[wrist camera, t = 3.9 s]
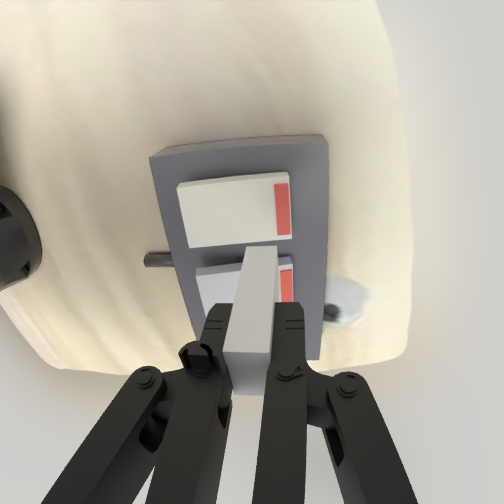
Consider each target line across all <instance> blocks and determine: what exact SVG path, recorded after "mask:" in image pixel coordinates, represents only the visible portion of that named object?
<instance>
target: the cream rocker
mask: <svg viewBox="0 0 504 504" xmlns="http://www.w3.org/2000/svg"><path fill="white" fill-rule="evenodd" d="M177 193H178V198H179V203H180V208H181V213H182V218H183V222H184V227H185V232H186V236H187V241H188V245H189V248H198V247H208V246H219V245H229V244H240V243H251V242H262V241H273V240H284V239H292V227H291V204H290V183H289V175H288V173H287V172H275V173H263V174H252V175H242V176H232V177H223V178H214V179H206V180H198V181H191V182H184V183H180V184H179V185H178V187H177Z"/></svg>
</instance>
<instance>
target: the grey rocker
mask: <svg viewBox="0 0 504 504" xmlns="http://www.w3.org/2000/svg"><path fill="white" fill-rule="evenodd" d="M242 264H243V262H242V263H234V264H226V265H218V266H210V267H202V268H196V280H197V284H198V288H199V292H200V296H201V300H202V304H203V308H204V312H205V315H206V318H207V315H208V311H209V310H210V309H211V308H212V307H213V306H214V304H215V303H234V299H235V294H236V290H237V286H238V281H239V277H240V273H241V268H242ZM278 270H279V288H280V291H279V302H293V263H292V261H291V258H290V256H287V257H280V258H278Z"/></svg>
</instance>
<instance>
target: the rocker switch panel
mask: <svg viewBox="0 0 504 504" xmlns="http://www.w3.org/2000/svg"><path fill="white" fill-rule="evenodd" d="M149 161H150V166H151V171H152V175H153V180H154V185H155V189H156V194H157V198H158V203H159V207H160V211H161V216H162V220H163V224H164V228H165V232H166V236H167V240H168V244H169V248H170V251H171V254H147V255H145V257H144V265H145V266H146V267H175V270H176V273H177V277H178V281H179V284H180V288H181V291H182V294H183V298H184V301H185V304H186V308H187V311H188V314H189V317H190V321H191V324H192V327H193V330H194V333H195V336H196V339H197V341H198V340H200V337H201V334H202V331H203V329H204V328H203V327H204V324H205V322H206V315H205V312H204V308H203V304H202V300H201V296H200V292H199V288H198V284H197V280H196V268H202V267H210V266H218V265H226V264H234V263H242V262H243V260H244V255H245V251H246V247H249V246H277V253H278V258H280V257H287V256H290V258H291V261H292V263H293V302H299V303H300V304H301V306H302V308H303V309H304V319H305V350H306V360H319V356H320V346H321V336H322V324H323V312H324V299H325V283H326V265H327V241H328V143H327V141H326V140H325V138H324V137H323V135H287V136H267V137H252V138H239V139H228V140H218V141H209V142H200V143H192V144H185V145H177V146H171V147H166V148H164V149H163V150H161V151H159V152H158V153H156V154H154V155H153V156H151V157H149ZM275 172H287V173H288V175H289V183H290V204H291V227H292V239H284V240H273V241H262V242H251V243H240V244H229V245H219V246H208V247H198V248H189V245H188V241H187V236H186V232H185V227H184V222H183V218H182V213H181V208H180V203H179V198H178V193H177V187H178V185H179V184H180V183H184V182H191V181H198V180H206V179H214V178H223V177H232V176H242V175H252V174H263V173H275Z"/></svg>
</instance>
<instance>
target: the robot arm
mask: <svg viewBox="0 0 504 504" xmlns="http://www.w3.org/2000/svg"><path fill="white" fill-rule="evenodd" d="M40 262H41V245H40V240H39V236H38V233H37V230H36V227H35V225H34V222H33V220H32V218H31V216H30V214H29V213H28V211H27V209H26V208H25V206H24V205H23V203H22V202H21V201H20V200H19V198H18V197H17V196H16V195H15V194H14V193H12V192H11V191H10V190H8V189H6V188H4V187H1V186H0V291H2V290H4V289H6V288H8V287H10V286H12V285H15V284H17V283H19V282H21V281H23V280H26V279H27V278H29V277H30V276H31V275H32V274H33V273H34V272H35V271H36V270H37V268H38V267H39V265H40ZM279 291H280V288H279V270H278V253H277V246H249V247H246V251H245V255H244V260H243V264H242V268H241V273H240V277H239V281H238V286H237V290H236V294H235V299H234V303H215V304H214V306H213V307H212V308H211V309H210V310H209V311H208V315H207V318H206V322H205V324H204V327H203V328H204V329H203V331H202V334H201V337H200V340H198V341H192V342H190V343H187V344H186V345H185V346H183V347H182V348H181V350H180V351H179V353H178V355H179V357H180V359H181V362H182V364H183V366H184V368H182V369H179V370H175V371H169V372H164V373H161V372H160V370H159V369H157V368H156V367H153V366H144V367H141V368H139V369H137V370H135V371H134V372H133V373H132V374H131V376H130V377H129V378H128V380H127V381H126V383H125V384H124V385H123V387H122V388H121V389H120V391H119V392H118V393H117V395H116V396H115V398H114V399H113V400H112V402H111V403H110V405H109V406H108V407H107V409H106V410H105V412H104V413H103V414H102V416H101V417H100V419H99V420H98V421H97V423H96V424H95V426H94V427H93V428H92V430H91V431H90V433H89V434H88V436H87V437H86V438H85V440H84V441H83V443H82V444H81V445H80V447H79V448H78V450H77V451H76V453H75V454H74V456H73V457H72V458H71V460H70V461H69V463H68V464H67V466H66V467H65V469H64V470H63V472H62V473H61V474H60V476H59V477H58V479H57V480H56V482H55V484H54V485H53V486H52V488H51V489H50V491H49V492H48V494H47V495H46V497H45V498H44V500H43V501H42V503H41V504H132V503H133V501H134V500H135V498H136V496H137V495H138V493H139V491H140V490H141V488H142V486H143V484H144V483H145V481H146V480H147V478H148V476H149V475H150V473H151V471H152V470H153V468H154V466H155V469H154V472H153V476H152V480H151V483H150V487H149V491H148V494H147V498H146V502H145V504H216V500H217V493H218V487H219V482H220V477H221V471H222V465H223V459H224V453H225V447H226V442H227V435H228V430H229V423H230V418H231V412H232V400H231V394H232V389H233V392H234V394H237V395H261V396H262V395H263V396H264V404H263V412H262V422H261V431H260V440H259V449H258V457H257V466H256V474H255V482H254V490H253V498H252V504H304V499H305V477H306V444H307V442H306V441H307V424H309V425H313V426H316V427H320V428H322V431H323V434H324V438H325V441H326V444H327V448H328V451H329V454H330V457H331V461H332V463H333V467H334V470H335V473H336V477H337V480H338V484H339V487H340V490H341V494H342V497H343V500H344V504H418V502H417V499H416V497H415V494H414V492H413V490H412V486H411V484H410V481H409V479H408V476H407V474H406V471H405V469H404V466H403V464H402V461H401V459H400V457H399V454H398V452H397V450H396V447H395V445H394V442H393V440H392V438H391V435H390V433H389V431H388V428H387V426H386V424H385V422H384V419H383V417H382V415H381V412H380V410H379V408H378V406H377V403H376V401H375V399H374V397H373V395H372V392H371V390H370V388H369V386H368V384H367V382H366V380H365V379H364V378H363V377H362V376H360V375H359V374H357V373H354V372H341V373H339V374H337V375H335V376H334V377H331V376H327V375H322V374H320V373H317V372H315V371H314V370H312V369H311V368H310V367H309V365H308V363H307V361H306V350H305V319H304V309H303V308H302V306H301V304H300V303H299V302H279Z"/></svg>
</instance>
